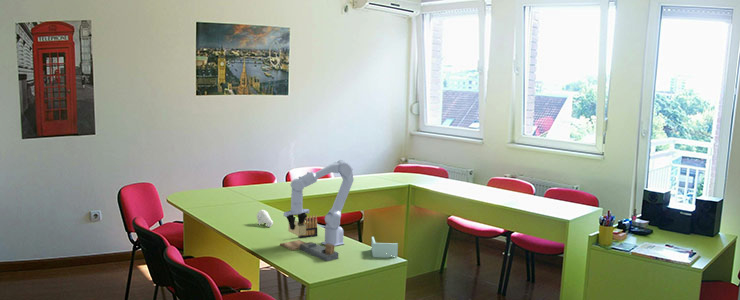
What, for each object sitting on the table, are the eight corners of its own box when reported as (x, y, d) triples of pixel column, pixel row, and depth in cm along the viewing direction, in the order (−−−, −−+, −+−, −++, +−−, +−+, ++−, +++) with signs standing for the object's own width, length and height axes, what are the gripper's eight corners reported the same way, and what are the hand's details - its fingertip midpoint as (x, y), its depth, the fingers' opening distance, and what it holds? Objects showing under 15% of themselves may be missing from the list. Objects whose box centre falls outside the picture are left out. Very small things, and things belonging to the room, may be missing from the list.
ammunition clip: (299, 238, 303) (300, 216, 302) (298, 237, 305) (298, 215, 304) (317, 236, 309) (318, 214, 308) (316, 235, 311) (316, 214, 309)
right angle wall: (397, 258, 277) (397, 243, 276) (372, 258, 276) (373, 243, 276) (394, 251, 289) (395, 237, 288) (371, 250, 288) (371, 236, 287)
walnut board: (299, 241, 298) (299, 240, 298) (311, 246, 290) (311, 244, 290) (279, 245, 290) (279, 243, 290) (292, 250, 282) (292, 248, 282)
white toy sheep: (265, 208, 332) (276, 214, 324) (264, 222, 334) (275, 228, 326) (256, 209, 328) (267, 215, 320) (255, 223, 330) (266, 229, 321)
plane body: (311, 247, 288) (311, 234, 287) (338, 258, 272) (338, 244, 271) (299, 250, 283) (300, 236, 282) (326, 261, 267) (327, 247, 266)
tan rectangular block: (295, 229, 293) (296, 220, 292) (305, 234, 287) (306, 225, 286) (288, 231, 290) (288, 221, 289) (298, 235, 283) (299, 226, 283)
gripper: (303, 199, 295) (303, 224, 296) (280, 202, 285) (279, 228, 287) (311, 201, 290) (311, 227, 291) (288, 205, 280) (287, 232, 282)
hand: (296, 228), depth 289 cm, fingers closed on tan rectangular block, 4 cm apart
